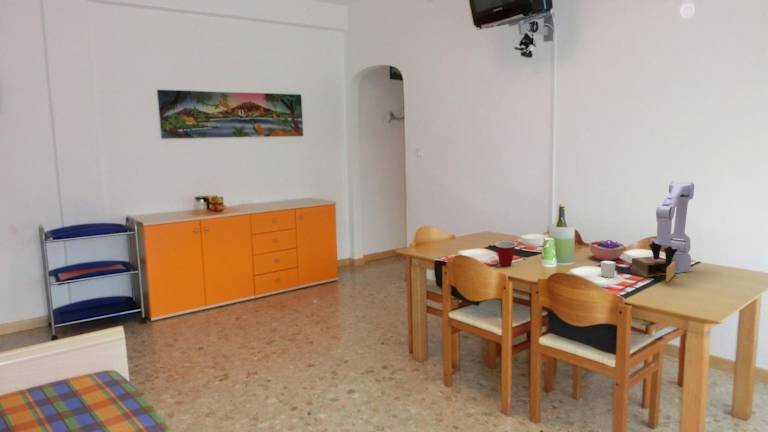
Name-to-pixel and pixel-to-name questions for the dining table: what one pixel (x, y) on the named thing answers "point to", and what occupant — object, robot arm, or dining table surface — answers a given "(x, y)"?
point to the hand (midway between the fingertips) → (662, 261)
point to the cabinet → (649, 266)
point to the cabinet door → (670, 271)
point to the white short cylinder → (608, 268)
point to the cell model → (606, 250)
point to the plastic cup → (505, 252)
